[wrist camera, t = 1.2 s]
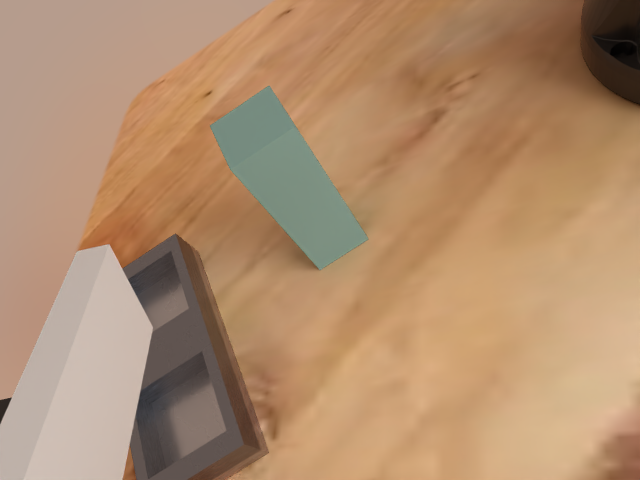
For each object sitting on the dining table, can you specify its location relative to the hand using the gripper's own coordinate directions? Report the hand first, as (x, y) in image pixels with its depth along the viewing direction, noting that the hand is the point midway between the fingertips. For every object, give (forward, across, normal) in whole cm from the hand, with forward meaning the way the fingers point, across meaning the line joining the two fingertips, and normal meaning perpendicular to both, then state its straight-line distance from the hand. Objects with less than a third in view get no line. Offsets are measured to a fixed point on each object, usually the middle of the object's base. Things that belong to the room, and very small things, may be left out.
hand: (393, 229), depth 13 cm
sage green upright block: (+20, -1, -14) cm, 25 cm away
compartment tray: (+16, -13, -19) cm, 28 cm away
